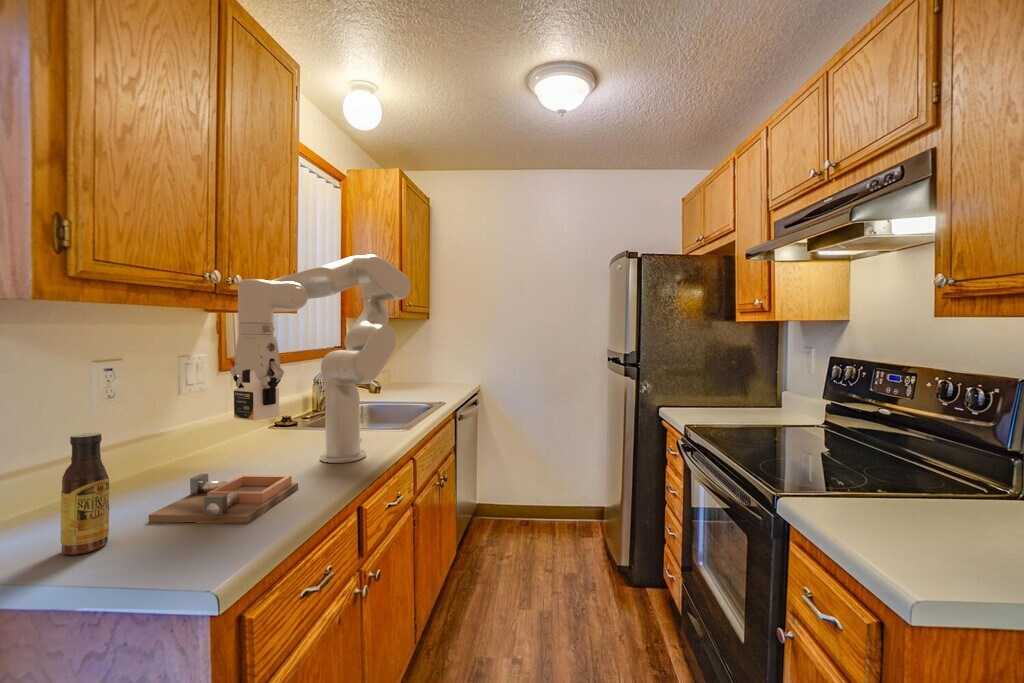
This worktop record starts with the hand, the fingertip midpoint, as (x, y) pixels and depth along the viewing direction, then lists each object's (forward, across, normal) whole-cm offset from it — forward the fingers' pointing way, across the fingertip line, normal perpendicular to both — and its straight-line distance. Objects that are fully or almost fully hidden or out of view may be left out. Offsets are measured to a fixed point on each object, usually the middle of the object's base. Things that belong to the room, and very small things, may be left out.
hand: (256, 403), depth 115 cm
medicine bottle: (+4, 0, 0) cm, 4 cm away
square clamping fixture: (+20, -5, +11) cm, 24 cm away
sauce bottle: (+21, -1, +35) cm, 41 cm away
